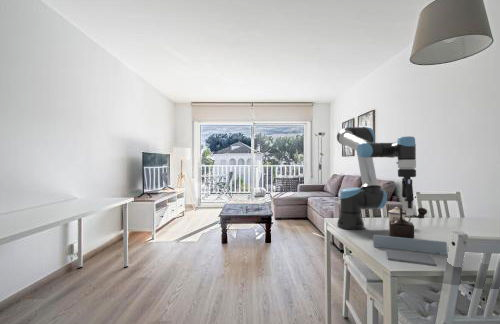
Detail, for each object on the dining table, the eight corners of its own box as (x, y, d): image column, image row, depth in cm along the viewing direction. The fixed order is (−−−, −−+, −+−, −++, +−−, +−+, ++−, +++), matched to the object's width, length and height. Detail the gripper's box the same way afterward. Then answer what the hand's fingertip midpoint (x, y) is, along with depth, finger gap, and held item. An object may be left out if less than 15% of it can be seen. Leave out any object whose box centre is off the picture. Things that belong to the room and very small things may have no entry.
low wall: (373, 244, 125) (373, 234, 125) (445, 252, 114) (445, 240, 114) (373, 247, 122) (373, 236, 122) (447, 255, 110) (447, 243, 110)
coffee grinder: (389, 244, 126) (389, 206, 126) (388, 238, 136) (388, 203, 136) (428, 248, 119) (428, 208, 119) (424, 242, 129) (424, 205, 129)
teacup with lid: (390, 228, 157) (389, 208, 157) (386, 224, 165) (386, 205, 165) (413, 229, 153) (412, 209, 153) (408, 225, 162) (408, 206, 162)
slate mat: (386, 250, 117) (386, 249, 117) (429, 255, 110) (429, 254, 110) (388, 259, 106) (388, 258, 106) (436, 265, 99) (436, 264, 99)
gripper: (395, 168, 140) (396, 208, 140) (400, 169, 118) (401, 216, 117) (411, 168, 137) (412, 209, 137) (420, 169, 114) (421, 218, 114)
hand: (407, 213), depth 127 cm, fingers open, 13 cm apart
